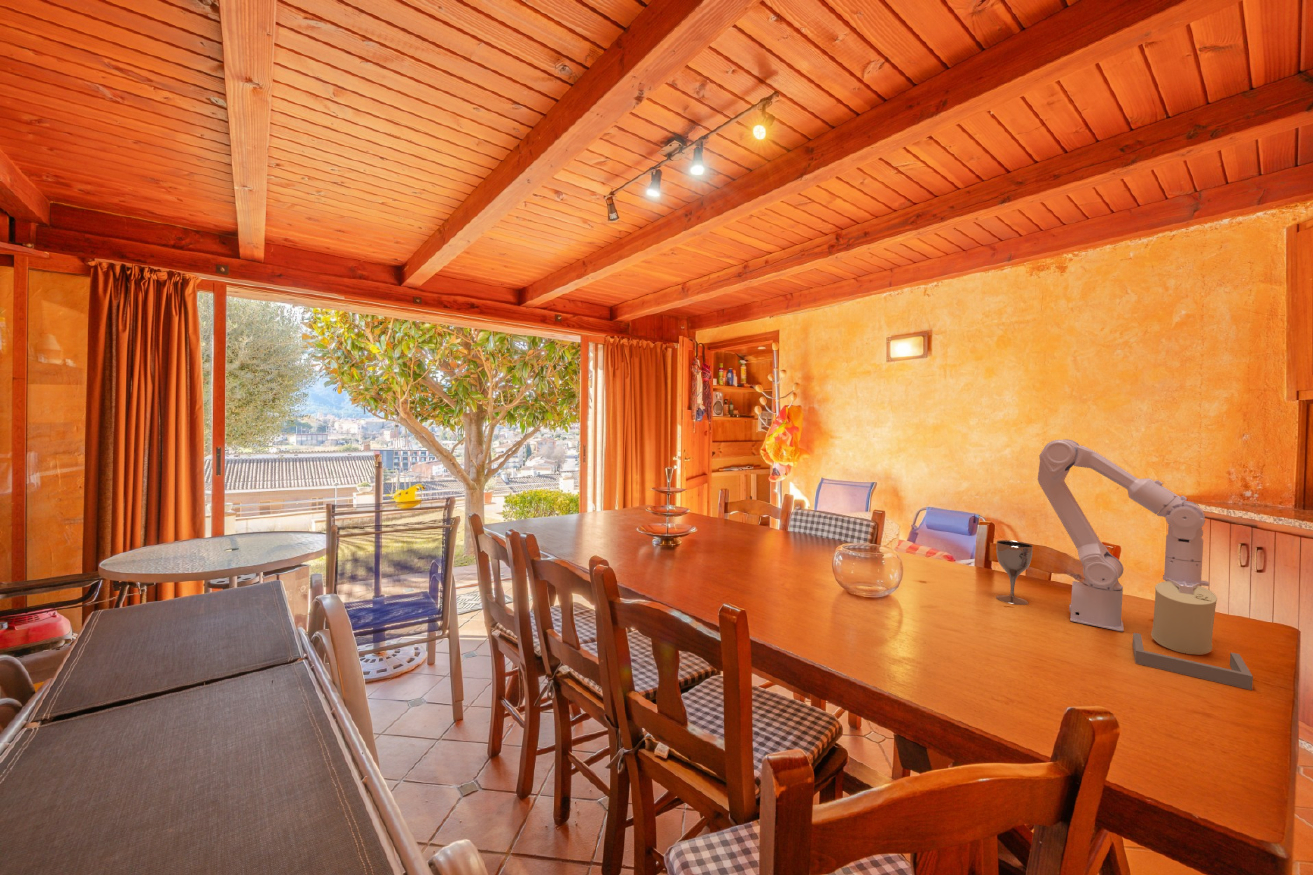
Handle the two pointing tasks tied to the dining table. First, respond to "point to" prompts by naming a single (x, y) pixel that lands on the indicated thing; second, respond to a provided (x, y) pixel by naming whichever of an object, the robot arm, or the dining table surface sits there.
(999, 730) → the dining table surface
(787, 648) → the dining table surface
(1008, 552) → the wine glass
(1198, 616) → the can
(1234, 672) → the holder
